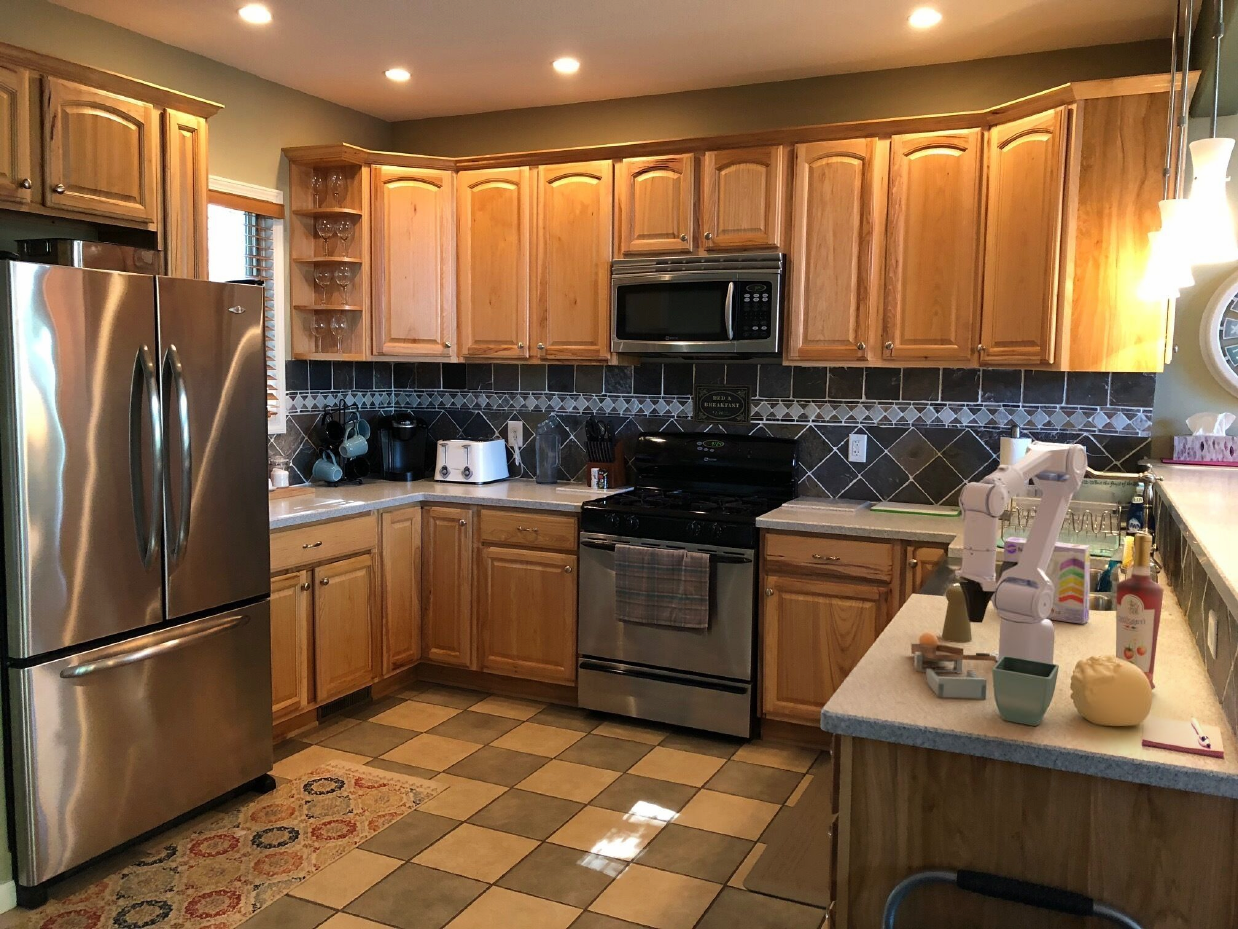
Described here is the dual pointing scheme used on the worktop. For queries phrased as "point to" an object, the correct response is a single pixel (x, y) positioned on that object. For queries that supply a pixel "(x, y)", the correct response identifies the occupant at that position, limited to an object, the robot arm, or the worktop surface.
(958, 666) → the fulcrum
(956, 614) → the olive green pepper shaker
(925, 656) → the lever
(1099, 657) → the sculpture
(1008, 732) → the worktop surface
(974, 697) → the dish
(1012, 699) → the flower pot
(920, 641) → the ball
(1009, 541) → the cake pan box
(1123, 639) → the liquor
